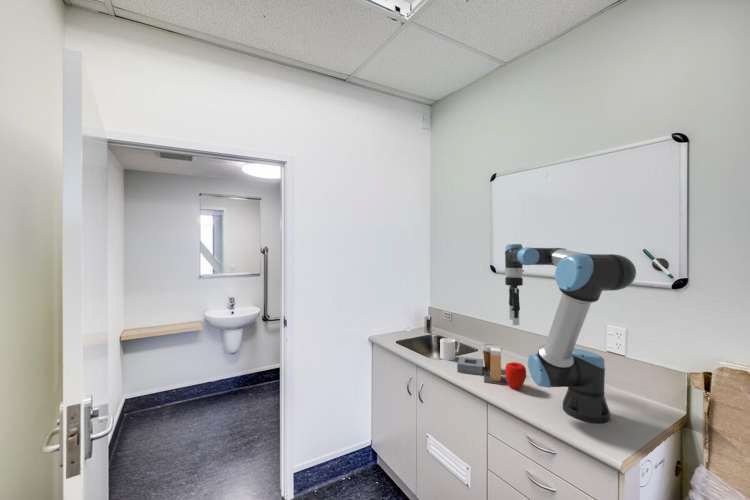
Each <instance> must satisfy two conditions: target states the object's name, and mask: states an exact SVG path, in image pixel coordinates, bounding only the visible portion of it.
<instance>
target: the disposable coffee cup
mask: <svg viewBox="0 0 750 500" xmlns="http://www.w3.org/2000/svg"><path fill="white" fill-rule="evenodd" d="M491 348H498V349H501V352H502V351H503V350H502V347H501V345H497V344H494V343H485V344H483V345H482V347H481V349H482V353H483V365H484V369H485V370H486V371H487V372H490V350H491Z"/></svg>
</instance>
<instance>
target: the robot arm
mask: <svg viewBox="0 0 750 500" xmlns="http://www.w3.org/2000/svg"><path fill="white" fill-rule="evenodd" d="M504 248H505V249H504V261H505V263H504V264H505V265H504V266H505V267H504V271H505V272H504V274H505V281H504V282H505V283H504V285H505V286H509V287H508V288H509V289H508V294H509V296H508V297H509V299H508V305H509V306H508V307H509V310H508V311H509V315H508V316H509V320H512V326H520V310H521V308H520V304H521V303H520V289H519V287H520V286H523V285H524V284H523V279H524V278H523V275H524V274H523V273H524V272H525V270H524V269H523V266H544V265H545V266H554V267H555V271H554V273H555V274H554V276H556V277H555V282H556V285H557V287H558V290H559V292H560V293H561V297H560V300H559V303H558V305H557V308H556V311H555V314H554V317H553V320H552V323H551V326H550V329H549V332H548V336H547V339H546V341H545V343H544V344H542V345H541V346H539V348H538V351H537V353H536V354H535V353H532V354H530V355H529V356H528V358H527V368H528V371H529V374H530V377H531V379H532V380H533V382H534V383H535V384H536V385H537V386H538V387H540V388H565V387H566V388H567V390H566V393H565V395H564V397H563V399H562V410H563V411H564V412H565V413H566V414H567V415H569V416H571V417H573V418H575V419H578V420H580V421H584V422H587V423H593V424H605V423H608V422H610V420H611V411H610V408H609V406H608V403H607V400H606V396H605V378H606V377H605V376H606V375H605V374H606V373H605V372H606V366H605V359H604V357H602V356H601V355H600V354H597V353H595V352H594V351H593V352H592V351H588V350H584V349H580V348H575V345H576V343H577V341H578V339H579V336H580V333H581V331H582V328H583V325H584V322H585V320H586V317H587V314H588V313H589V309H590V308H591V305H592V303H596V302H598V301H599V299H600V297H601V294H602V292H603V291H605V292H606V291H619V290H624V289H625V288H627V287H629V286H631V284H633V282H634V281H635V279H636V275H637V269H636V265H635V264H634V263H633V261H631V260H630V259H629V257H628V258H627V257H626V256H623V255H620V254H615V253H614V254H613V253H611V254H602V253H601V254H600V253H599V254H597V253H596V254H595V253H594V254H592V253H591V254H589V253H586V252H585V253H584V252H579V251H573V250H569V249H568V250H567V249H566V248H564V247H562V248H561V247H531V246H530V247H523V245H522V244H521V243H509V244H506V245H505V247H504Z"/></svg>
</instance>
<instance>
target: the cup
mask: <svg viewBox="0 0 750 500" xmlns="http://www.w3.org/2000/svg"><path fill="white" fill-rule="evenodd" d="M456 341H457V350H456ZM439 343H440V344H439V345H440V348H439V349H440V350H439V351H440V353H439V355H440V356H439V357H440V359H441V360H445V361H454V360H456V353H459V350H460V346H461V345H460V340H459V339H458V338H450V337H447V338H446V337H445V338H444V337H443V338H440V340H439Z"/></svg>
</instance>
